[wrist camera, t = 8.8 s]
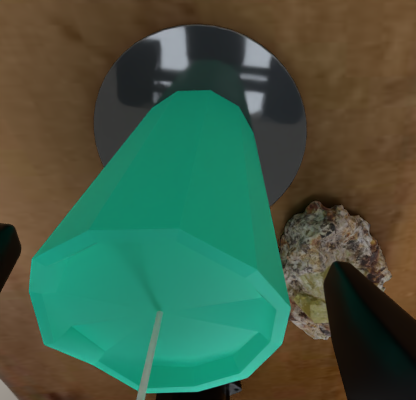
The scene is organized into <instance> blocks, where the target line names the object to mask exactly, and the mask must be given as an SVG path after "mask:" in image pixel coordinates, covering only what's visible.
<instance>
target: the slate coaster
mask: <svg viewBox="0 0 416 400" xmlns="http://www.w3.org/2000/svg"><path fill="white" fill-rule="evenodd" d="M194 90H211V91H213V92H214V93H216V94H218V95H220V96H221V97H223V98H225V99H227V100H229V101H230V102H232V103H234V104H236V105H237V106H239V108H240V110H241V111H242V113H243V115H244V117H245V118H246V120H247V122H248V124H249V126H250V127H251V129H252V131H253V133H254V137H255V142H256V146H257V151H258V156H259V161H260V165H261V170H262V175H263V179H264V184H265V189H266V193H267V198H268V203H269V207H270V206H271V205H272V204H274V203H275V202H276V201H277V200H278V199H279V198H280V197H281V196H282V195H283V194H284V192H285V191H286V190H287V188H288V187H289V186H290V184H291V183H292V181H293V179H294V177H295V176H296V174H297V172H298V169H299V167H300V165H301V162H302V159H303V155H304V151H305V146H306V138H307V122H306V115H305V109H304V105H303V102H302V99H301V95H300V93H299V91H298V89H297V86H296V84H295V82H294V80H293V79H292V77H291V76H290V74H289V73H288V71H287V70H286V68H285V67H284V66H283V65H282V63H281V62H280V61H279V60H278V59H277V58H276V57H275V56H274V55H273V54H272V53H271V52H270V51H269V50H267V49H266V48H265V47H264V46H262V45H261V44H260V43H258V42H256V41H255V40H253V39H252V38H250V37H248V36H247V35H244V34H242V33H239V32H237V31H234V30H232V29H228V28H224V27H220V26H216V25H207V24H186V25H179V26H174V27H170V28H165V29H163V30H160V31H157V32H155V33H152V34H150V35H148V36H146V37H145V38H143V39H141V40H139V41H138V42H136V43H135V44H134V45H132V46H131V47H130V48H129V49H127V50H126V51H125V52H124V53H123V54H122V55H121V56H120V57H119V58H118V59H117V61H116V62H115V63H114V64H113V65H112V67H111V69H110V70H109V72H108V73H107V75H106V76H105V78H104V81H103V83H102V85H101V87H100V90H99V93H98V97H97V100H96V104H95V112H94V134H95V141H96V146H97V150H98V153H99V157H100V159H101V161H102V164H103V166H104V168H105V166H106V165H107V164H108V162H109V161H110V160H111V159H112V157H113V156H114V155H115V154H116V152H117V151H118V150H119V149H120V147H121V146H122V145H123V144H124V142H125V141H126V140H127V139H128V137H129V136H130V135H131V134H132V132H133V131H134V130H135V129H136V127H137V126H138V125H139V123H140V122H141V121H142V120H143V118H144V117H145V116H146V115H147V113H148V112H149V111H150V110H151V108H153V107H154V106H156V105H157V104H159V103H160V102H162V101H163V100H165V99H166V98H168V97H169V96H171V95H172V94H174V93H175V92H177V91H194Z"/></svg>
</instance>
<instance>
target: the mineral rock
mask: <svg viewBox="0 0 416 400" xmlns="http://www.w3.org/2000/svg"><path fill="white" fill-rule="evenodd" d="M369 230H370V224H369V223H368V222H367V221H365V220H364V219H362V218H361V217H360V215H356V216H350V215H349V213H348V212H347V210H345V209H344V208H343V206H342V205H335V206H333V207H332V208H326V207H324V206H323V205H322V204H321V202H319V201H317V200H315V201H314V202H312V203H310V204H309V205H308V207H307V208H306V210H305V212H304V213H302V214H296V215H294V216H293V217H292V218H291V219H290V220H289V221H288V222H287V224H286V226H285V230H284V234H283V235H282V237H281V239H280V259H281V264H282V268H283V273H284V278H285V282H286V287H287V292H288V297H289V301H290V306H291V310H290V314H289V318H288V321H289V320H290V321H292V322H293V323H294V324H295V325H296V326H298V327H299V328H300V329H302V330H304V331H305V332H306V333H307V334H308V335H309V336H311V337H312V338H313V339H325V340H327V339H328V338H329V337H331V334H330V328H329V321H328V315H327V308H326V302H325V296H324V289H323V284H324V280H325V277H326V275H327V273H328V271H329V269H330V266H331V264H332V263H333V262H334V261H343V262H349V263H351V264H352V265H353V266H354V267H355V268H356V269H358V270H359V271H360V272H361V273H362V274H363V275H365V276H366V277H367V278H368V279H369V280H370V281H371V282H373V283H374V284H375V285H376V286H377V287H378V288H379V289H381V290H382V291H383V292H384V290H385V288H384V287H383V283H384V282H386V281H388V280H390V278H391V277H392V276H391V273H390V271H388V267H387V265H386V262H385V258H384V256H383V255H382V250H381V249H380V246H379V245H378V241H377V240H376V239H374V238H373V237H372V236H371V235H370V233H369Z"/></svg>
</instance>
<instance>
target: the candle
mask: <svg viewBox="0 0 416 400" xmlns="http://www.w3.org/2000/svg"><path fill="white" fill-rule="evenodd" d="M29 294H30V297H31V301H32V304H33V308H34V311H35V315H36V318H37V322H38V325H39V329H40V332H41V336H42V339H43V342H44V345H46V346H48V347H51V348H53V349H56V350H58V351H60V352H63V353H65V354H68V355H70V356H72V357H75V358H77V359H80V360H82V361H85V362H87V363H89V364H92V365H94V366H95V367H97V368H99V369H101V370H102V371H104V372H106V373H108V374H109V375H111V376H113V377H114V378H116V379H118V380H120V381H121V382H123V383H125V384H127V385H128V386H130V387H132V388H134V389H135V390H137V391H138V395H137V399H136V400H145V395H146V393H172V392H199V391H202V390H206V389H209V388H213V387H217V386H220V385H224V384H227V383H231V382H235V381H238V380H242V379H245V378H248V377H249V376H250V375H251V374H252V373H253V372H254V371H255V370H256V369H257V368H258V367H259V366H260V365H261V364H262V363H263V362H264V361H265V360H266V359H267V358H269V357H270V356H271V355H272V354H273V353H274V352H275V351H276V350H277V349H278V348H279V347H280V346H281V345H282V343H283V339H284V335H285V330H286V326H287V322H288V318H289V314H290V310H291V306H290V301H289V297H288V292H287V287H286V282H285V278H284V273H283V268H282V264H281V259H280V254H279V250H278V245H277V240H276V236H275V231H274V226H273V221H272V217H271V212H270V207H269V203H268V198H267V193H266V189H265V184H264V179H263V175H262V170H261V165H260V161H259V156H258V151H257V146H256V142H255V137H254V133H253V131H252V129H251V127H250V126H249V124H248V122H247V120H246V118H245V117H244V115H243V113H242V111H241V110H240V108H239V106H237V105H236V104H234V103H232V102H230V101H229V100H227V99H225V98H223V97H221V96H220V95H218V94H216V93H214V92H213V91H211V90H194V91H177V92H175V93H174V94H172V95H171V96H169V97H168V98H166V99H165V100H163V101H162V102H160V103H159V104H157V105H156V106H154V107H153V108H151V110H150V111H149V112H148V113H147V115H146V116H145V117H144V118H143V120H142V121H141V122H140V123H139V125H138V126H137V127H136V129H135V130H134V131H133V132H132V134H131V135H130V136H129V137H128V139H127V140H126V141H125V142H124V144H123V145H122V146H121V147H120V149H119V150H118V151H117V152H116V154H115V155H114V156H113V157H112V159H111V160H110V161H109V162H108V164H107V165H106V166H105V168H104V169H103V170H102V171H101V173H100V174H99V175H98V176H97V178H96V179H95V180H94V181H93V183H92V184H91V185H90V186H89V188H88V189H87V190H86V191H85V193H84V194H83V195H82V196H81V198H80V199H79V200H78V201H77V203H76V204H75V205H74V207H73V208H72V209H71V210H70V212H69V213H68V214H67V215H66V217H65V218H64V219H63V220H62V222H61V223H60V224H59V225H58V227H57V228H56V229H55V230H54V232H53V233H52V234H51V235H50V237H49V238H48V239H47V240H46V242H45V243H44V244H43V246H42V247H41V248H40V249H39V251H38V252H37V253H36V254H35V256H34V257H33V258H32V262H31V273H30V284H29Z"/></svg>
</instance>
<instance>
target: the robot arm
mask: <svg viewBox="0 0 416 400" xmlns="http://www.w3.org/2000/svg"><path fill="white" fill-rule="evenodd" d="M20 253H21V244H20V241H19V238H18V235H17V232H16V229H15V227H14V226H13V225H11V224H4V223H0V292H1V290H2V288H3V286H4V284H5V283H6V281H7V279H8V277H9V275H10V273H11V271H12V269H13V267H14V265H15V263H16V262H17V260H18V258H19V256H20ZM323 289H324V296H325V302H326V308H327V315H328V321H329V328H330V334H331V339H332V344H333V348H334V352H335V355H336V359H337V363H338V366H339V370H340V374H341V377H342V381H343V385H344V389H345V392H346V396H347V400H416V320H415V319H414V318H413V317H411V316H410V315H409V314H408V313H407V312H406V311H405V310H403V309H402V308H401V307H400V306H399V305H398V304H397V303H395V302H394V301H393V300H392V299H391V298H390V297H389V296H387V295H386V294H385V293H384V292H383V291H382V290H381V289H379V288H378V287H377V286H376V285H375V284H374V283H373V282H371V281H370V280H369V279H368V278H367V277H366V276H365V275H363V274H362V273H361V272H360V271H359V270H358V269H356V268H355V267H354V266H353V265H352V264H351V263H349V262H343V261H334V262H333V263H332V264H331V266H330V269H329V271H328V273H327V275H326V277H325V280H324V284H323ZM241 390H242V387H241V384H240V383H238V382H237V381H235V382H231V383H227V384H224V385H220V386H217V387H213V388H209V389H206V390H202V391H199V392H172V393H157V396H156V400H230V395H232V394H235V393H238V392H240V391H241Z"/></svg>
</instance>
